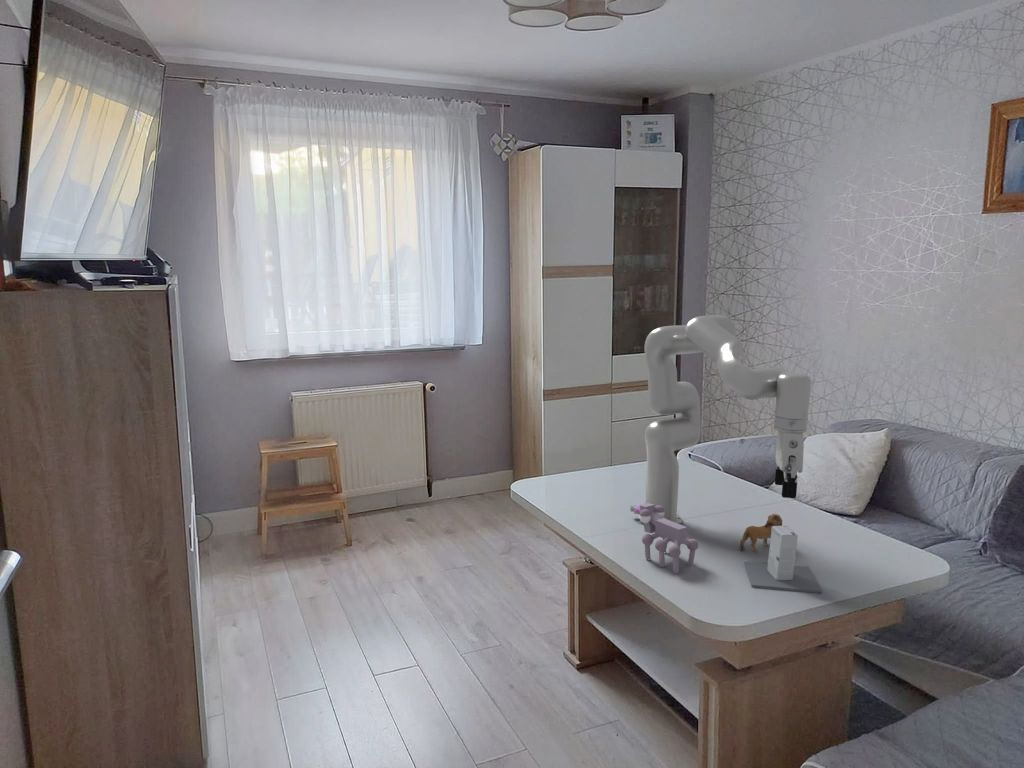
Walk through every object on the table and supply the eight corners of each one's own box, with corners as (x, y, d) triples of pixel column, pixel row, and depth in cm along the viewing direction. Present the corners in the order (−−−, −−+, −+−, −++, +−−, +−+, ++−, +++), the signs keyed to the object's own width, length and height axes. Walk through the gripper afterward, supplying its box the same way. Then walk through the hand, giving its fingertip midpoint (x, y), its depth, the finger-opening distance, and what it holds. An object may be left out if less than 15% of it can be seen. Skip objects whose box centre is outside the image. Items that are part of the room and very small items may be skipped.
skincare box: (766, 570, 177) (769, 525, 175) (783, 570, 177) (786, 524, 175) (777, 581, 171) (780, 534, 169) (794, 580, 171) (798, 534, 169)
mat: (751, 587, 169) (751, 584, 169) (743, 563, 183) (744, 561, 183) (821, 593, 166) (821, 590, 166) (808, 568, 180) (808, 566, 180)
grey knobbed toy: (617, 549, 191) (620, 501, 189) (644, 542, 197) (648, 496, 195) (672, 575, 175) (677, 524, 173) (700, 567, 181) (705, 517, 179)
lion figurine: (770, 540, 199) (772, 510, 197) (785, 546, 194) (788, 516, 192) (733, 549, 192) (735, 518, 190) (748, 556, 187) (750, 525, 185)
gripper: (815, 433, 160) (808, 504, 163) (799, 416, 176) (793, 481, 179) (780, 431, 161) (775, 501, 164) (768, 415, 178) (763, 479, 181)
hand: (784, 491), depth 172 cm, fingers open, 9 cm apart
